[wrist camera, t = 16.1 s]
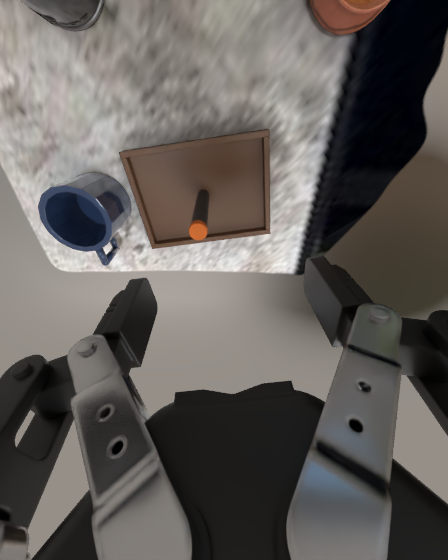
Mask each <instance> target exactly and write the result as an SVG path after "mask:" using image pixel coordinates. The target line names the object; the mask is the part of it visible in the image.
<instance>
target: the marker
mask: <svg viewBox="0 0 448 560" xmlns="http://www.w3.org/2000/svg"><path fill="white" fill-rule="evenodd" d="M208 210H209V193H208V191H206V190H200V191H199V192H198V194H197V199H196V203H195V207H194V212H193V216H192V221H191V224H190V227H189V234H190V236H191V237H192V238H193V239H195V240H202V239H204V238H205V237H206V236H207V232H208V228H207V225H208Z"/></svg>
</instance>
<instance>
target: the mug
mask: <svg viewBox="0 0 448 560" xmlns="http://www.w3.org/2000/svg"><path fill="white" fill-rule="evenodd" d="M38 209H39V214H40V219H41V221H42V223H43V224H44V226H45V228H46V229H47V231H48V232H49V233H50V234H51V235H52V236H53V237H54V238H55V239H57V240H58V241H59V242H60V243H62V244H64V245H66V246H68V247H70V248H72V249H75V250H80V251H85V252H87V251H96V253H97V255H98V257H99V259H100V261H101V263H102V264H103V265H105V266H106V265H108V264H109V263H110V261H111V260H112V259H113V257H114V256H115V255H116V253H117V252H118V251H119V249H120V248H119V245H118V243H117V241H116V238H115V235H116V233H117V232H118V231H119V230H120V229H121V228H122V227H123V225H124V224H125V223H126V221H127V220H128V218H129V216H130V213H131V203H130V199H129V196H128V194H127V193H126V191H125V189H124V188H123V187H122V186H121V185H120V184H119V183H118V182H117V181H116V180H114V179H113V178H111V177H110V176H107V175H105V174H102V173H96V172H92V173H86V174H82V175H80V176H77V177H75V178H72V179H70V180H68V181H65V182H63V183H60V184H58V185H55V186H53V187H51V188H49V189H48V190H47V191H46V192H44V193H43V194H42V195H41V198H40V202H39V205H38ZM109 242H110V244H111V246H112V249H111V250H110V251H109V252H108V254H107V255H106V254H105V252H104V250H103V248H102V247H104V246H105V245H107V244H108V243H109Z"/></svg>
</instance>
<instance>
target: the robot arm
mask: <svg viewBox="0 0 448 560" xmlns="http://www.w3.org/2000/svg"><path fill="white" fill-rule="evenodd" d="M18 1H20V2H21V3H23V4H24V5H26V6H28V7H29V8H30V9H32V10H33V11H35V12H36V13H37V14H39V15H40V14H41V15H40V16H41V17H43V16H44V17H43V18H44V19H46V20H47V21H48V22H50V23H51V22H52V23H51V24H53V23H54V24H55V26H56V25H57V26H59V27H61V28H63V29H66V30H70V31H81V30H85V29H87V28H89V27H90V26H92V25H93V24H94V23H95V22H96V20H97V19H98V17H99V16H100V14H101V11H102V9H103V5H104V0H18ZM54 24H53V25H54ZM57 26H56V27H57ZM304 292H305V295H306V297H307V299H308V301H309V303H310V305H311V307H312V308H313V310H314V312H315V314H316V316H317V318H318V320H319V322H320V324H321V326H322V328H323V330H324V332H325V334H326V335H327V337H328V339H329V341H330V343H331V345H332V346H333V347H338V346H343V348H344V349H343V352H342V355H341V358H340V361H339V364H338V367H337V370H336V373H335V376H334V379H333V381H332V385H331V388H330V390H329V393H328V397H327V400H326V402H324V401H322V400H321V399H318V398H317V397H315V396H312V395H310V394H308V393H305V392H301V391H297V390H294V388H293V385H292V382H291V381H283V382H274V383H264V384H260V385H257V386H255V387H252V388H249V389H247V390H244V391H241V392H239V393H236V394H227V393H221V392H215V391H209V390H195V391H185V392H176V393H175V400H174V402H173V403H171V404H169V405H167V406H165V407H163V408H162V409H160V410H158V411H157V412H156V413H155V414H153V415H152V416H151V415H150V414H149V412H148V410H147V408H146V406H145V405H144V403H143V401H142V399H141V397H140V395H139V393H138V391H137V389H136V387H135V385H134V383H133V381H132V379H131V377H130V376H129V372H130V369H131V368H134V367H141V364H142V361H143V358H144V354H145V351H146V347H147V344H148V341H149V338H150V334H151V331H152V328H153V324H154V321H155V317H156V314H157V302H156V299H155V296H154V294H153V291H152V289H151V286H150V284H149V281H148V279H147V278H140V279H132V280H130V281H129V283H128V285H127V286H126V289H125V290H122V291H120V292H119V293H118V294H117V295H116V296H115V297H114V298H113V300H112V301H111V303H110V305H109V306H110V307H108V309H107V310H106V313H105V314H104V316H103V317H102V319H101V321H100V323H99V324H98V326H97V328H96V330H95V331H94V333H93V335H91V336H88V337H85V338H84V339H82V340H80V341H79V342H77V343H76V344H75V345H74V346H73V347H72V348H71V349H70V351H69V353H68V355H66V356H63V357H60V358H57V359H54V360H52V361H49V362H48V361H47V360H46V359H45V358H44V357H43V356H41V355H32V356H29V357H26V358H24V359H22V360H20V361H18V362H17V363H15V364H14V365H12V366H11V367H10V368H9V369H8V370H7V371H6V372H5V373H4V374H3V375H2V377H1V379H0V560H30V554H29V552H28V545H29V534H28V531H27V530H28V527H29V524H30V522H31V520H32V518H33V515H34V513H35V510H36V508H37V506H38V503H39V501H40V498H41V496H42V494H43V491H44V489H45V486H46V484H47V482H48V479H49V477H50V474H51V472H52V470H53V467H54V465H55V463H56V460H57V458H58V455H59V453H60V451H61V448H62V446H63V444H64V441H65V439H66V436H67V434H68V431H69V429H70V427H71V425H72V422H73V420H74V421H75V425H76V429H77V434H78V439H79V443H80V447H81V452H82V457H83V461H84V465H85V470H86V474H87V479H88V483H89V488H90V489H89V491H88V492H87V493H86V494H85V495H84V497H83V498H82V499H81V500H80V502H79V503H78V504H77V505H76V506H75V508H74V509H73V510H72V511H71V512H70V513H69V515H68V516H67V517H66V518H65V519H64V521H63V522H62V523H61V524H60V526H59V527H58V528H57V529H56V530H55V532H54V533H53V534H52V535H51V536H50V538H49V539H48V540H47V541H46V543H45V544H44V545H43V546H42V547H41V548H40V550H39V551H38V552H37V554H36V555H35V556H34V557H33V558H32V559H31V560H448V504H447V503H446V502H445V501H443V500H442V499H441V498H440V497H439V496H437V495H436V494H435V493H434V492H433V491H431V490H430V489H429V488H428V487H426V486H425V485H424V484H423V483H422V482H421V481H420V480H418V479H417V478H416V477H415V476H413V475H412V474H411V473H410V472H409V471H407V470H406V469H405V468H404V467H403V466H401V465H400V464H399V463H398V462H397V461H396V460H394V459H393V458H392V457H393V447H394V438H395V428H396V419H397V409H398V399H399V390H400V380H401V374H402V375H407V377H408V378H409V380H410V381H411V383H412V384H413V386H414V387H415V389H416V390H417V391H418V393H419V394H420V396H421V397H422V399H423V400H424V402H425V403H426V405H427V406H428V407H429V409H430V411H431V412H432V413H433V415H434V416H435V418H436V419H437V421H438V422H439V424H440V425H441V427H442V428H443V430H444V431H445V433H446V434H447V435H448V311H446V310H439V311H435V312H433V313H431V314H430V316H429V317H428V319H427V320H418V319H409V318H402V317H400V315H399V314H398V313H397V312H396V311H394V310H393V309H391V308H389V307H387V306H385V305H381V304H376V303H373V301H372V300H371V299H370V298H369V296H368V295H367V294H366V293H365V292H364V291H363V290H362V288H361V287H360V286H359V285H358V284H356V282H355V281H354V279H353V278H351V276H350V275H349V274H348V273H347V272H346V270H344V269H343V268H341V267H339V266H337V265H331V264H330V263H329V262H328V261H327V259H326V258H325V257H324V256H319V257H311V258H307V259H306V264H305V274H304ZM30 410H32V411H33V412H34V413H35V416H34V417H33V419H32V421H31V423H30V425H29V426H28V428H27V430H26V432H25V434H24V435H23V437H22V439H21V441H20V442H19V444H18V446H17V448H16V446H15V436H16V433H17V432H18V430H19V428H20V426H21V425H22V423H23V421H24V419H25V417H26V416H27V414H28V412H29V411H30Z"/></svg>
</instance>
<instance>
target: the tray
mask: <svg viewBox="0 0 448 560" xmlns="http://www.w3.org/2000/svg"><path fill="white" fill-rule="evenodd" d="M119 154H120V157H121V160H122V163H123V166H124V169H125V172H126V174H127V177H128V180H129V183H130V186H131V189H132V192H133V195H134V198H135V200H136V203H137V206H138V209H139V212H140V215H141V218H142V221H143V223H144V226H145V229H146V232H147V235H148V238H149V241H150V244H151V247H152V249H155V248H163V247H170V246H178V245H186V244H193V243H201V242H209V241H216V240H224V239H232V238H239V237H247V236H255V235H262V234H270V149H269V130H267V129H265V130H258V131H252V132H245V133H239V134H232V135H225V136H219V137H212V138H205V139H199V140H192V141H186V142H179V143H172V144H166V145H159V146H152V147H146V148H139V149H133V150H126V151H122V152H119ZM200 190H206V191H208V193H209V210H208V225H207V228H208V232H207V236H206V237H205V238H204V239H202V240H195V239H193V238H192V237H191V236H190V234H189V227H190V224H191V221H192V216H193V212H194V207H195V203H196V199H197V194H198V192H199V191H200Z"/></svg>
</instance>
